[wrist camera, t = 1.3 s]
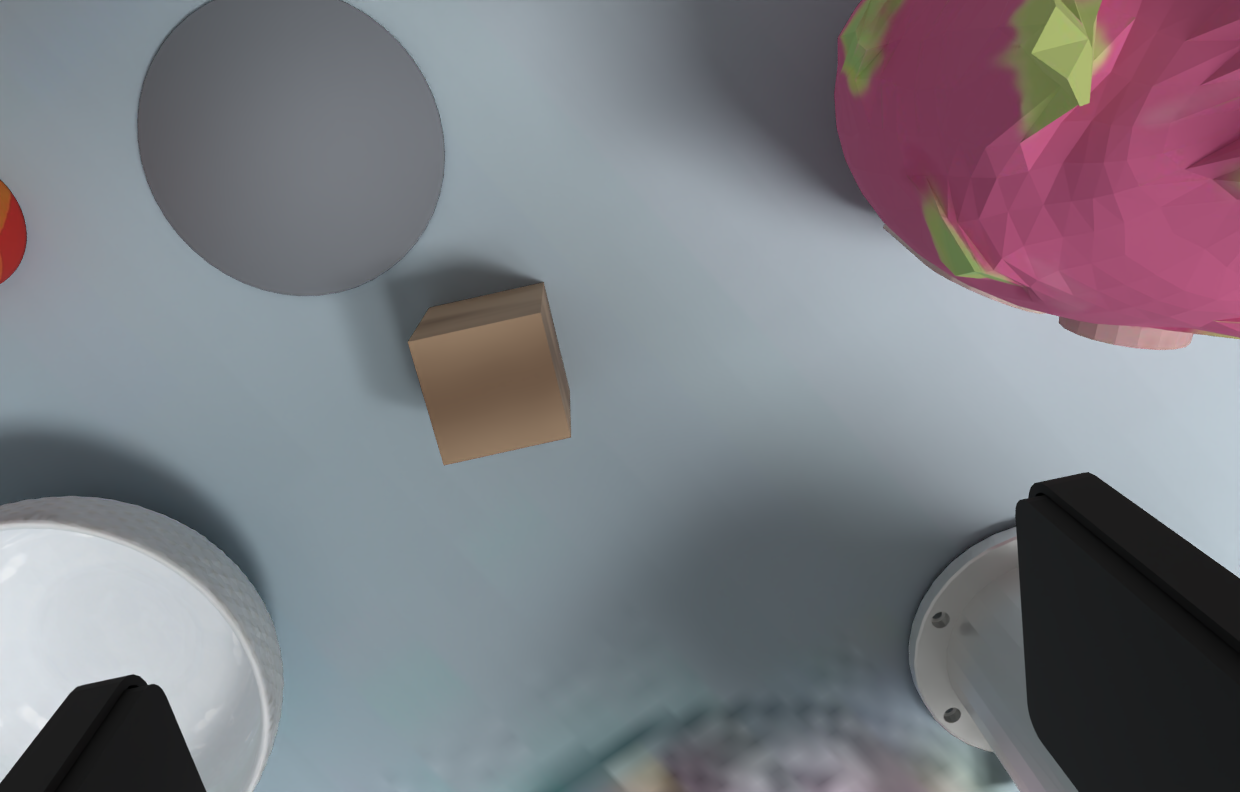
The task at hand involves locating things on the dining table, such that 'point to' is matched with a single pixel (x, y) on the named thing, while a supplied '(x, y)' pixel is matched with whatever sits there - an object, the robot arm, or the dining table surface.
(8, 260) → the paper cup
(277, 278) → the disc
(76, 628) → the cereal bowl
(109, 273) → the dining table surface
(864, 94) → the pink dragon fruit
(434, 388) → the walnut block
